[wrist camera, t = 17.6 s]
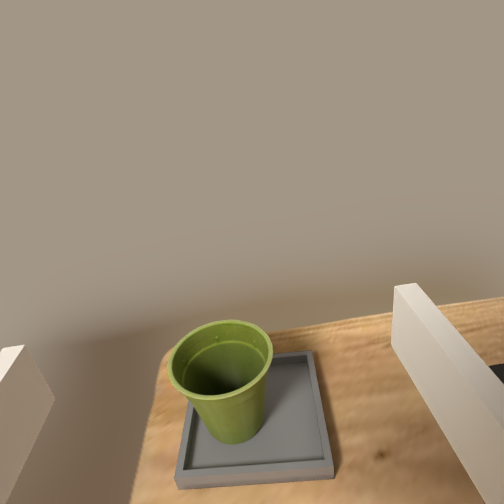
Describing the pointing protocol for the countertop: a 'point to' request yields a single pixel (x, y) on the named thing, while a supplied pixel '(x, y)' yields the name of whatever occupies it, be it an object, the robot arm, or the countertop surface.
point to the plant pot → (224, 376)
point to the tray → (264, 436)
